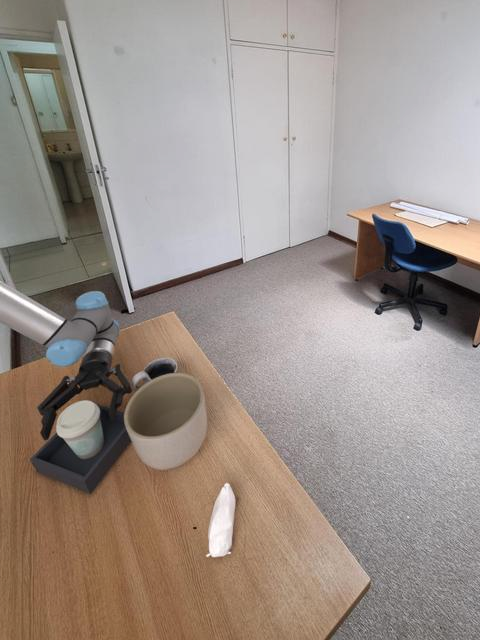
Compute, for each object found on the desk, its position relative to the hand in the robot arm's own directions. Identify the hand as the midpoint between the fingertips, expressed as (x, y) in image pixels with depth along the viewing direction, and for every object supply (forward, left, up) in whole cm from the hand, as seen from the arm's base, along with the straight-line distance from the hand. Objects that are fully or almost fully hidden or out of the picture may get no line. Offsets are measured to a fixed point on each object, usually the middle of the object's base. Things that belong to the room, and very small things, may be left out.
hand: (78, 427), depth 75 cm
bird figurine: (+39, -4, -10) cm, 40 cm away
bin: (0, +1, -9) cm, 10 cm away
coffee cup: (0, +1, -9) cm, 9 cm away
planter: (+19, +8, -10) cm, 22 cm away
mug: (+5, +20, -10) cm, 22 cm away
